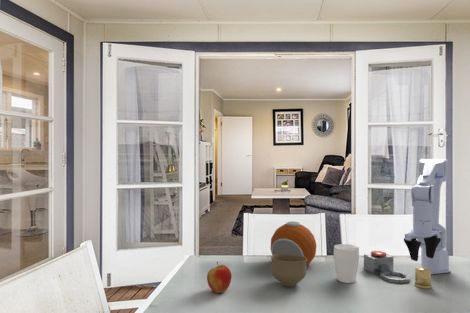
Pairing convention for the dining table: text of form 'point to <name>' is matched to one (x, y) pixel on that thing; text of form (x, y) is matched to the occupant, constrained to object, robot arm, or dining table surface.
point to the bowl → (288, 268)
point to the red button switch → (383, 267)
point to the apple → (219, 278)
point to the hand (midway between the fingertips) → (422, 258)
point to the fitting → (423, 277)
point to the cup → (346, 262)
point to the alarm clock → (294, 241)
